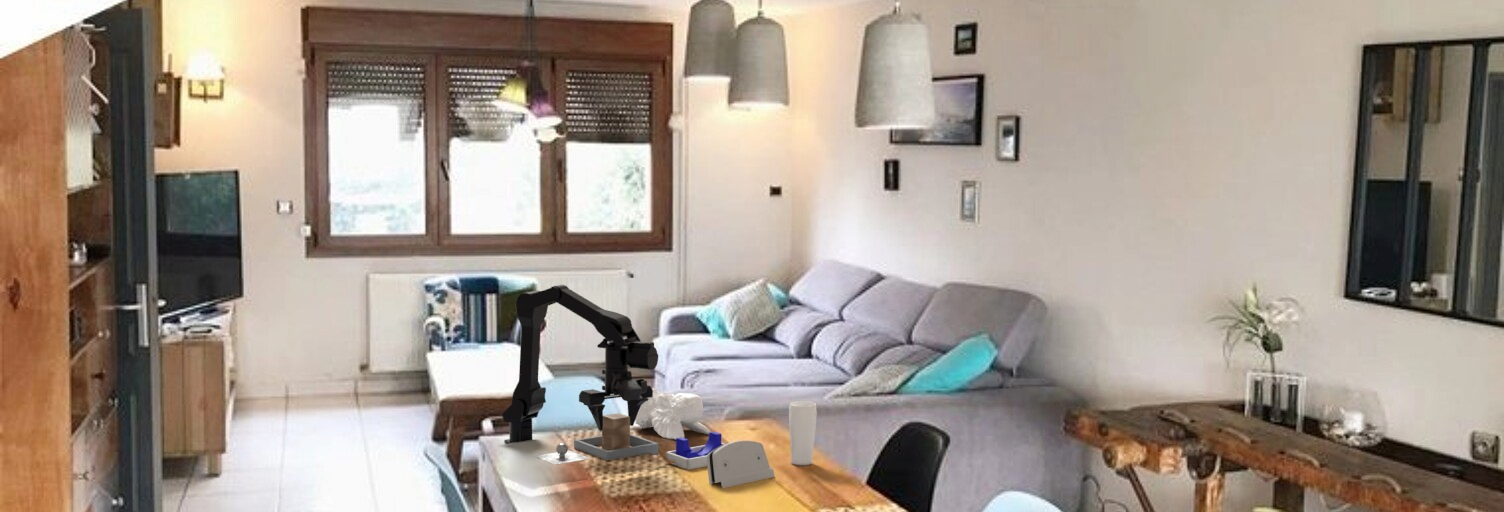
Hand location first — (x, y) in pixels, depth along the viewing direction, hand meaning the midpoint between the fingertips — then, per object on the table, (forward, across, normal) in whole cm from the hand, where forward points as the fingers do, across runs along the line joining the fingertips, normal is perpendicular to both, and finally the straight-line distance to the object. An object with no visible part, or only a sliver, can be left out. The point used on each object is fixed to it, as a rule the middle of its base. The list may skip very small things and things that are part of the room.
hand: (616, 427), depth 322 cm
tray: (+7, 0, 0) cm, 7 cm away
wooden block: (+6, 0, 0) cm, 6 cm away
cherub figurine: (+7, +27, +12) cm, 30 cm away
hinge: (+7, +11, -35) cm, 38 cm away
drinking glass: (+7, +33, -33) cm, 47 cm away
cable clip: (+7, +15, -16) cm, 23 cm away
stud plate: (+7, -15, +1) cm, 17 cm away
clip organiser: (+7, +15, -17) cm, 24 cm away
